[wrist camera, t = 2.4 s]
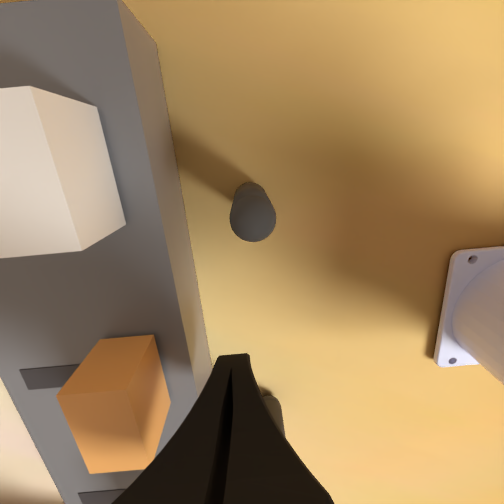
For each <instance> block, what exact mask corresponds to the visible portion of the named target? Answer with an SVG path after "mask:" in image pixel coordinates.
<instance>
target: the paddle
mask: <svg viewBox="0 0 504 504" xmlns="http://www.w3.org/2000/svg"><path fill="white" fill-rule="evenodd" d="M125 225H126V222H125V218H124V214H123V210H122V206H121V202H120V198H119V194H118V190H117V186H116V182H115V178H114V174H113V170H112V166H111V162H110V158H109V154H108V150H107V146H106V142H105V138H104V134H103V130H102V126H101V122H100V118H99V114H98V110H97V107H95V106H92V105H89V104H86V103H83V102H80V101H77V100H73V99H70V98H67V97H64V96H61V95H58V94H54V93H51V92H48V91H45V90H42V89H39V88H35V87H32V86H21V87H11V88H0V258H10V257H21V256H32V255H43V254H53V253H64V252H75V251H83V250H84V249H86V248H88V247H89V246H91V245H93V244H94V243H96V242H98V241H99V240H101V239H103V238H104V237H106V236H108V235H110V234H111V233H113V232H115V231H116V230H118V229H120V228H121V227H123V226H125Z"/></svg>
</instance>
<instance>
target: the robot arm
mask: <svg viewBox="0 0 504 504" xmlns="http://www.w3.org/2000/svg"><path fill="white" fill-rule="evenodd" d="M471 256H472V258H471V259H470V260H469V261H468V259H469V257H471ZM434 362H435V363H436V364H437V365H438V366H439V367H451V366H462V365H474V364H481V365H482V366H483V367H484V368H485V369H486V370H487V371H489V372H490V373H491V374H492V375H493V376H494V377H495V378H496V379H498V380H499V381H500V382H501V383H502V384H503V385H504V246H499V247H488V248H477V249H466V250H459V251H456V252H455V253H454V254H453V255H452V256H451V259H450V264H449V270H448V276H447V282H446V288H445V294H444V300H443V306H442V312H441V317H440V323H439V329H438V335H437V341H436V347H435V353H434ZM111 504H334V502H333V500H332V498H331V496H330V495H329V493H328V492H327V491H326V490H325V489H324V487H323V486H322V485H321V484H320V483H319V482H318V480H317V479H316V478H315V477H314V476H313V475H312V473H311V472H310V471H309V470H308V468H307V467H306V466H305V464H304V463H303V462H302V461H301V459H300V458H299V457H298V455H297V454H296V452H295V451H294V449H293V448H292V447H291V445H290V444H289V442H288V441H287V440H286V438H285V437H284V435H283V433H282V432H281V430H280V429H279V427H278V425H277V424H276V422H275V420H274V418H273V417H272V415H271V413H270V411H269V409H268V407H267V405H266V403H265V401H264V399H263V397H262V395H261V393H260V390H259V388H258V385H257V383H256V380H255V378H254V375H253V372H252V368H251V364H250V356H249V355H248V354H247V353H244V354H233V355H222V356H219V357H218V358H217V360H216V363H215V365H214V368H213V370H212V372H211V374H210V376H209V378H208V380H207V382H206V384H205V386H204V388H203V390H202V392H201V393H200V395H199V397H198V399H197V400H196V402H195V404H194V405H193V407H192V408H191V410H190V412H189V413H188V415H187V416H186V418H185V419H184V421H183V422H182V424H181V425H180V427H179V428H178V429H177V431H176V432H175V433H174V435H173V436H172V437H171V439H170V440H169V441H168V443H167V444H166V445H165V446H164V448H163V449H162V450H161V451H160V453H159V454H158V455H157V456H156V457H155V458H154V460H153V461H152V462H151V463H150V464H149V465H148V466H147V467H146V468H145V470H144V471H143V472H142V473H141V474H140V475H139V476H138V477H137V478H136V479H135V481H134V482H133V483H132V484H131V485H130V486H129V487H128V488H127V489H126V490H125V491H124V492H123V493H122V494H121V495H120V496H118V497H117V498H116V499H115V500H114V501H113V502H112V503H111Z"/></svg>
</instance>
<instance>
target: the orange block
mask: <svg viewBox="0 0 504 504" xmlns="http://www.w3.org/2000/svg"><path fill="white" fill-rule="evenodd" d="M56 397H57V400H58V402H59V404H60V407H61V409H62V411H63V414H64V416H65V418H66V420H67V423H68V425H69V427H70V430H71V432H72V434H73V437H74V439H75V441H76V443H77V446H78V448H79V450H80V453H81V455H82V457H83V460H84V462H85V464H86V466H87V469H88V471H89V473H90V474H95V473H107V472H118V471H130V470H141V469H145V468H146V467H147V466H148V465H149V464H150V463H151V462H152V461H153V460H154V457H155V454H156V451H157V447H158V444H159V441H160V437H161V434H162V431H163V427H164V424H165V420H166V417H167V414H168V410H169V407H170V404H171V401H170V397H169V393H168V389H167V385H166V381H165V377H164V373H163V369H162V365H161V361H160V357H159V353H158V349H157V345H156V341H155V337H154V335H142V336H131V337H120V338H109V339H100V340H99V341H98V342H97V344H96V345H95V346H94V347H93V349H92V350H91V351H90V353H89V354H88V355H87V356H86V358H85V359H84V360H83V362H82V363H81V364H80V365H79V367H78V368H77V369H76V370H75V372H74V373H73V374H72V376H71V377H70V378H69V379H68V381H67V382H66V383H65V385H64V386H63V387H62V388H61V390H60V391H59V392H58V394H57V395H56Z"/></svg>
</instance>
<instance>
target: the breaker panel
mask: <svg viewBox="0 0 504 504" xmlns="http://www.w3.org/2000/svg"><path fill="white" fill-rule="evenodd" d="M21 86H32V87H35V88H39V89H42V90H45V91H48V92H51V93H54V94H58V95H61V96H64V97H67V98H70V99H73V100H77V101H80V102H83V103H86V104H89V105H92V106H95V107H97V110H98V114H99V118H100V122H101V126H102V130H103V134H104V138H105V142H106V146H107V150H108V154H109V158H110V162H111V166H112V170H113V174H114V178H115V182H116V186H117V190H118V194H119V198H120V202H121V206H122V210H123V214H124V218H125V222H126V225H125V226H123V227H121V228H120V229H118V230H116V231H115V232H113V233H111V234H110V235H108V236H106V237H104V238H103V239H101V240H99V241H98V242H96V243H94V244H93V245H91V246H89V247H88V248H86V249H84V250H83V251H75V252H64V253H53V254H43V255H32V256H21V257H10V258H0V377H1V379H2V381H3V383H4V385H5V387H6V389H7V391H8V393H9V395H10V397H11V399H12V401H13V403H14V405H15V407H16V409H17V411H18V412H19V414H20V416H21V418H22V420H23V422H24V424H25V426H26V428H27V430H28V432H29V434H30V436H31V438H32V440H33V442H34V444H35V446H36V448H37V450H38V452H39V454H40V456H41V458H42V460H43V462H44V464H45V466H46V467H47V469H48V471H49V473H50V475H51V477H52V479H53V481H54V483H55V485H56V487H57V489H58V491H59V493H60V495H61V497H62V499H63V501H64V503H65V504H111V503H112V502H113V501H114V500H115V499H116V498H117V497H118V496H120V495H121V494H122V493H123V492H124V491H125V490H126V489H127V488H128V487H129V486H130V485H131V484H132V483H133V482H134V481H135V479H136V478H137V477H138V476H139V475H140V474H141V473H142V472H143V471H144V470H145V469H141V470H130V471H118V472H107V473H95V474H90V473H89V471H88V469H87V466H86V464H85V462H84V460H83V457H82V455H81V453H80V450H79V448H78V446H77V443H76V441H75V439H74V437H73V434H72V432H71V430H70V427H69V425H68V423H67V420H66V418H65V416H64V414H63V411H62V409H61V407H60V404H59V402H58V400H57V397H56V395H57V394H58V392H59V391H60V390H61V388H62V387H63V386H64V385H65V383H66V382H67V381H68V379H69V378H70V377H71V376H72V374H73V373H74V372H75V370H76V369H77V368H78V367H79V365H80V364H81V363H82V362H83V360H84V359H85V358H86V356H87V355H88V354H89V353H90V351H91V350H92V349H93V347H94V346H95V345H96V344H97V342H98V341H99V340H100V339H109V338H120V337H131V336H142V335H154V337H155V341H156V345H157V349H158V353H159V357H160V361H161V365H162V369H163V373H164V377H165V381H166V385H167V389H168V393H169V397H170V401H171V404H170V407H169V410H168V414H167V417H166V420H165V424H164V427H163V431H162V434H161V437H160V441H159V444H158V447H157V451H156V454H155V457H156V456H157V455H158V454H159V453H160V451H161V450H162V449H163V448H164V446H165V445H166V444H167V443H168V441H169V440H170V439H171V437H172V436H173V435H174V433H175V432H176V431H177V429H178V428H179V427H180V425H181V424H182V422H183V421H184V419H185V418H186V416H187V415H188V413H189V412H190V410H191V408H192V407H193V405H194V404H195V402H196V400H197V399H198V397H199V395H200V393H201V392H202V390H203V388H204V386H205V384H206V382H207V380H208V378H209V376H210V374H211V372H212V365H211V359H210V353H209V347H208V342H207V336H206V330H205V324H204V318H203V313H202V307H201V301H200V295H199V289H198V284H197V278H196V272H195V266H194V260H193V255H192V249H191V243H190V237H189V232H188V226H187V220H186V214H185V208H184V203H183V197H182V191H181V185H180V179H179V174H178V168H177V162H176V156H175V150H174V145H173V139H172V133H171V127H170V122H169V116H168V110H167V104H166V98H165V93H164V87H163V81H162V75H161V69H160V64H159V58H158V52H157V46H156V42H155V41H154V40H153V39H152V37H151V36H150V35H149V34H148V32H147V31H146V30H145V29H144V27H143V26H142V25H141V24H140V22H139V21H138V20H137V19H136V17H135V16H134V15H133V14H132V12H131V11H130V10H129V9H128V7H127V6H126V5H125V4H124V3H123V1H122V0H30V1H20V2H10V3H0V88H11V87H21ZM155 457H154V458H155Z"/></svg>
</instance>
